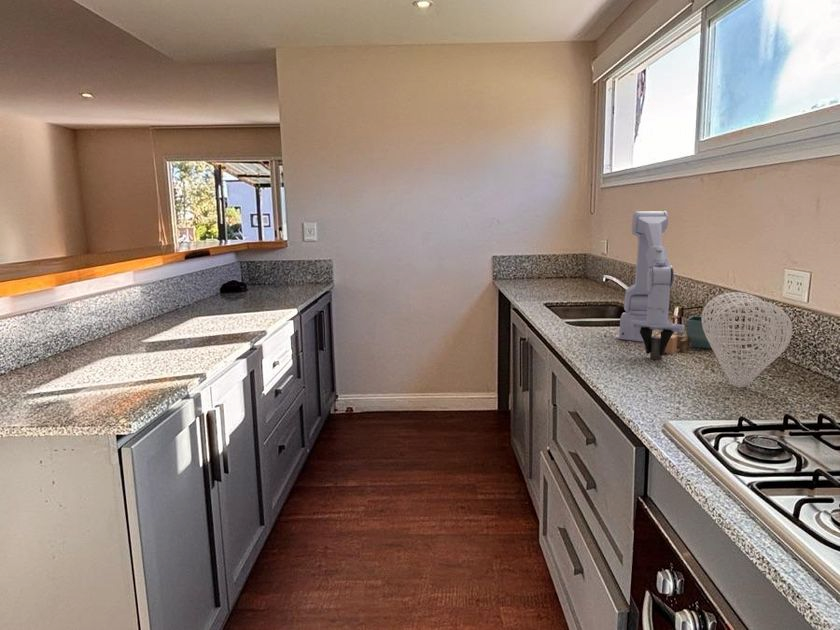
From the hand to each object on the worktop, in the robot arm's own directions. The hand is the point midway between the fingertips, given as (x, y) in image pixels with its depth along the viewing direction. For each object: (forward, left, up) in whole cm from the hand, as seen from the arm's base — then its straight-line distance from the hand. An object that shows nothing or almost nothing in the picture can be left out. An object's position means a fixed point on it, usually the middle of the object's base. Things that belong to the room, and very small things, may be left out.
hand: (655, 353), depth 166 cm
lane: (0, +17, -1) cm, 17 cm away
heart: (+24, -19, -2) cm, 30 cm away
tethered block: (0, +7, -1) cm, 7 cm away
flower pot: (+8, +25, -2) cm, 27 cm away
